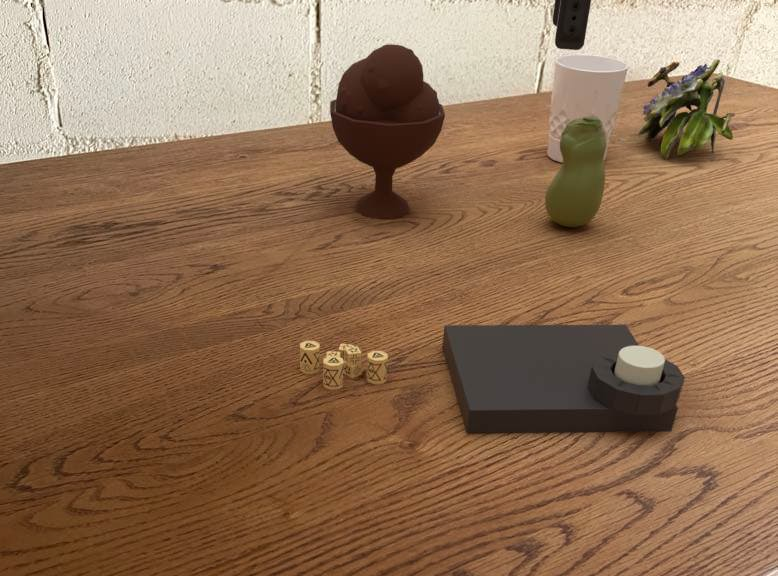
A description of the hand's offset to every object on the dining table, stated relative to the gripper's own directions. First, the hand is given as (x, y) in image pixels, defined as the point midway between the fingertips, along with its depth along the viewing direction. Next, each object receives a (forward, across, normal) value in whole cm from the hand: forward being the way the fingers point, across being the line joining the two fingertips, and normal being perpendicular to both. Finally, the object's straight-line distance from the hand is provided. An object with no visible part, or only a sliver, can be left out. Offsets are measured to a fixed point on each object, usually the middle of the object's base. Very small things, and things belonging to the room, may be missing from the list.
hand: (566, 36), depth 74 cm
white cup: (+18, +29, -5) cm, 34 cm away
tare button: (+15, -28, -6) cm, 32 cm away
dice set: (+18, -26, +14) cm, 35 cm away
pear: (+18, +7, -3) cm, 20 cm away
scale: (+18, -25, -1) cm, 31 cm away
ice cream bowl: (+18, +7, +15) cm, 24 cm away
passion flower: (+18, +36, -18) cm, 44 cm away
